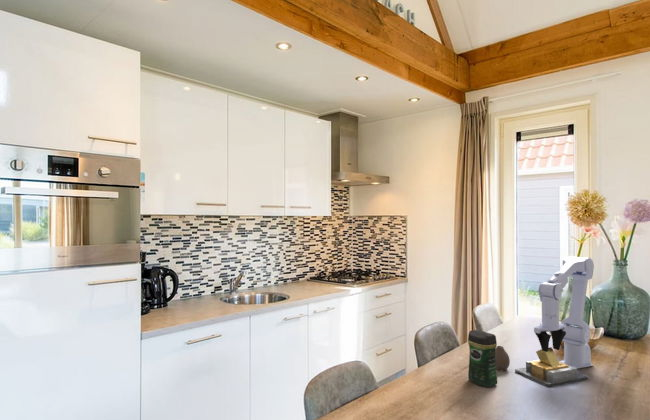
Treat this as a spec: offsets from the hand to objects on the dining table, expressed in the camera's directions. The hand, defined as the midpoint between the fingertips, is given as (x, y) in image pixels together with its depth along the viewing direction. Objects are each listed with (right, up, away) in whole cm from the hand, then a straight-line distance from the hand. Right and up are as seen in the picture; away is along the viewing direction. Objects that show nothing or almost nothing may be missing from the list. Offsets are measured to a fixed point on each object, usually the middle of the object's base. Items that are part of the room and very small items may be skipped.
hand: (550, 350), depth 152 cm
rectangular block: (0, -7, -1) cm, 7 cm away
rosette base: (0, -10, 0) cm, 10 cm away
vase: (-16, -10, +7) cm, 20 cm away
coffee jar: (-29, -10, -6) cm, 31 cm away
